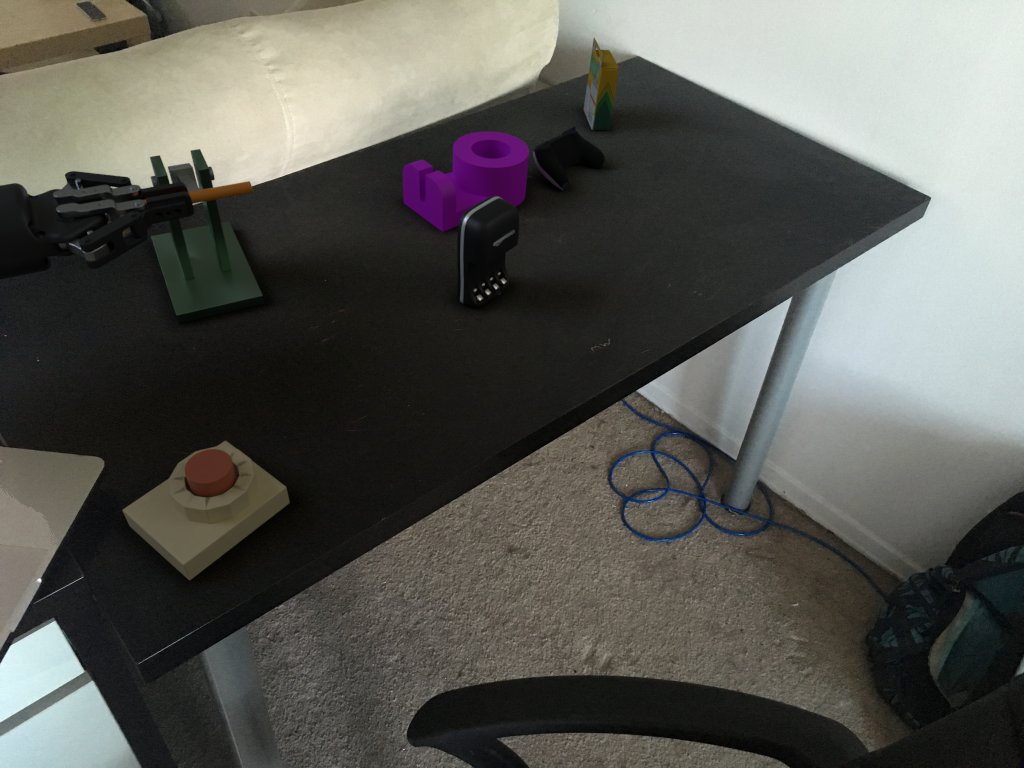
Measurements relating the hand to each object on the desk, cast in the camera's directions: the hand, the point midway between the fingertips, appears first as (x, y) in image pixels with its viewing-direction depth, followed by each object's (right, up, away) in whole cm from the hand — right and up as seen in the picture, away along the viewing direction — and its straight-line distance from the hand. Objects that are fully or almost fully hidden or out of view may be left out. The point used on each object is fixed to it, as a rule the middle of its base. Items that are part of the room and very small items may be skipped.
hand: (189, 198), depth 72 cm
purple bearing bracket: (+24, +8, +33) cm, 42 cm away
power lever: (-2, +1, +6) cm, 6 cm away
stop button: (+5, -25, -8) cm, 27 cm away
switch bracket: (-5, -4, +17) cm, 19 cm away
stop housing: (+4, -28, -6) cm, 29 cm away
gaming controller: (+37, +13, +40) cm, 56 cm away
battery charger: (+27, -7, +18) cm, 33 cm away
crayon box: (+43, +25, +53) cm, 72 cm away
